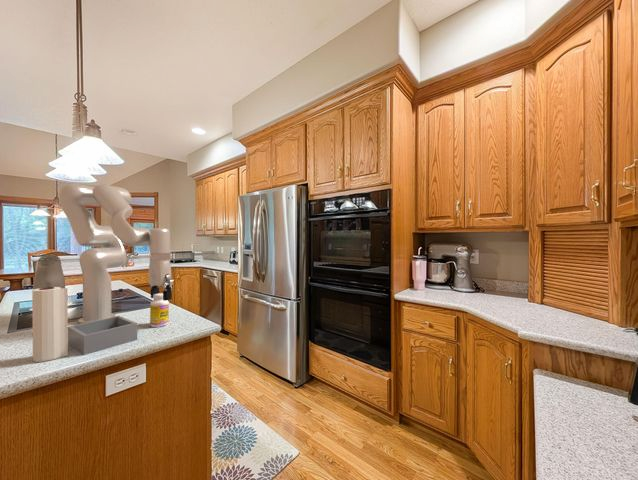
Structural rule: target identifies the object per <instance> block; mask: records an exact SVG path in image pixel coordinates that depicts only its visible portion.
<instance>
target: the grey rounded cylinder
mask: <svg viewBox="0 0 638 480" xmlns="http://www.w3.org/2000/svg"><path fill="white" fill-rule="evenodd" d="M64 274H65V273H64V271H63V268H62V260H61V258H60V257H59V256H58V255H55V254H46V255H45V254H44V255H42V256H40V257H39V259H38V260H37V266H36V271H35V274H34V278H33V282H32V283H33V284H32V290H34V289H39V288H46V287H61V289H64V288H66V278H65V275H64Z"/></svg>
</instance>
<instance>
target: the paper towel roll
mask: <svg viewBox="0 0 638 480" xmlns="http://www.w3.org/2000/svg"><path fill="white" fill-rule="evenodd" d="M31 292H32V293H31V295H32V297H31V298H32V299H31V301H32V309H31V310H32V361H33V362H36V363H40V362H46V361H47V362H48V361H52V360H57V359H59V358H62V357H66V356H68V354H69V353H68V352H69V351H68V350H69V349H68V347H69V345H68V327H69V325H68V323H69V322H68V321H69V320H68V318H69V316H68V315H69V314H68V313H69V312H68V288H67V287H65V288H64V289H61V287H46V288H39V289H34V290H33V289H32V291H31Z"/></svg>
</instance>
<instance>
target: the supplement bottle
mask: <svg viewBox="0 0 638 480" xmlns="http://www.w3.org/2000/svg"><path fill="white" fill-rule="evenodd" d="M152 299H153V300H152V301H151V302H150V309H149V311H150V312H149V315H150V316H149V326H150V327H152V328H162V327H165V326H167V325H168V324H169V320H170V319H169V317H170V316H169V314H170V313H169V312H170V309H169V308H170V305H169V304H170V303H169V301H170V300H166V301H164V300H163V292H161V293H160V292H159V294H154V295H153V298H152Z"/></svg>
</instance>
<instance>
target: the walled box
mask: <svg viewBox="0 0 638 480" xmlns="http://www.w3.org/2000/svg"><path fill="white" fill-rule="evenodd" d="M137 340H138V322H136V321H134V320H131V319H127V318H125V317H123V316H120V315H117V316H116V317H111V318H106V319H101V320H97V321H92V322H87V323H83V324H79V323H78V324H75V325H71V326H69V325H68V346H69V347H71V348H73V349H74V350H75V351H77V352H79V353H81V354H82V355H83V356H86V355H88V354H93V353H96V352H99V351H103V350H107V349H110V348H114V347H117V346H121V345H123V344H126V343H130V342H134V341H137Z"/></svg>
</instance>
